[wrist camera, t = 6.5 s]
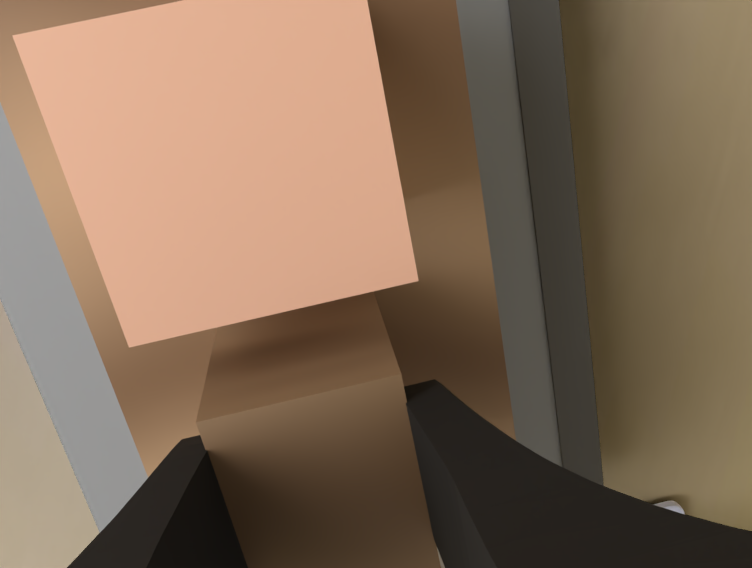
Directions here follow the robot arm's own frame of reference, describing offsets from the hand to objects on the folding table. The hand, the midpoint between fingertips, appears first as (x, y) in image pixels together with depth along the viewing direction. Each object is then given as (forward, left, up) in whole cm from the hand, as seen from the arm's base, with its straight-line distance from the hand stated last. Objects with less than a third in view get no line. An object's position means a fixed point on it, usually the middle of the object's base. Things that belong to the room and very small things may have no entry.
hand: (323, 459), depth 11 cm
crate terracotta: (+5, 0, -3) cm, 6 cm away
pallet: (0, 0, -5) cm, 5 cm away
